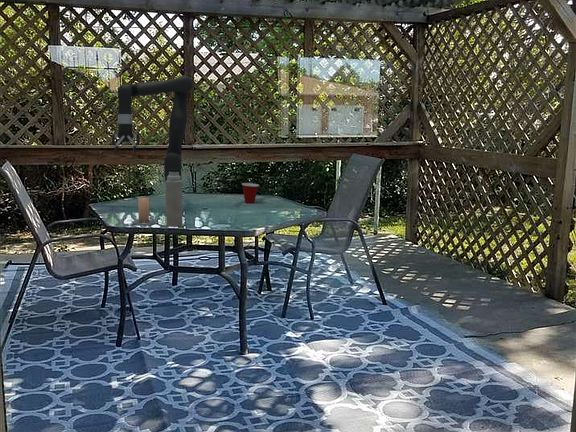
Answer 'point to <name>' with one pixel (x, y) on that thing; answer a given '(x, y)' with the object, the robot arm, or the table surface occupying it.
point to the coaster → (143, 223)
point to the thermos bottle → (173, 199)
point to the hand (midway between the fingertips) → (126, 153)
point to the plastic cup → (249, 192)
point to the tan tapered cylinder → (143, 210)
